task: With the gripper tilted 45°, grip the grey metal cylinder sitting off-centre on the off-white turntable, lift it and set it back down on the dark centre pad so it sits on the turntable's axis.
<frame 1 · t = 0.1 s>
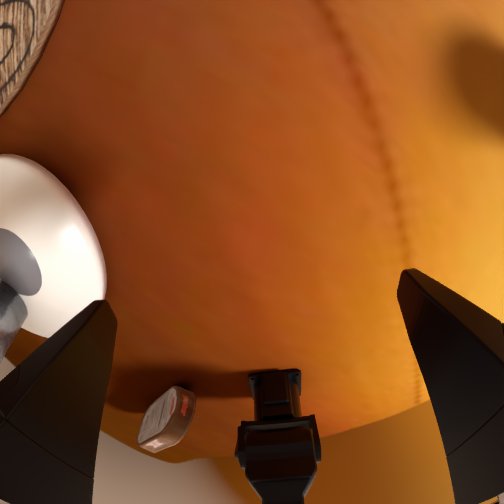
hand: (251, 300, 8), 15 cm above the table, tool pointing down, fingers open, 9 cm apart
turntable: (17, 258, 22), point 2 cm above the table, hinge at 0.0°, touching grey metal cylinder
tin: (166, 396, 38), on the table
grey metal cylinder: (8, 300, 24), point 3 cm above the table, touching turntable
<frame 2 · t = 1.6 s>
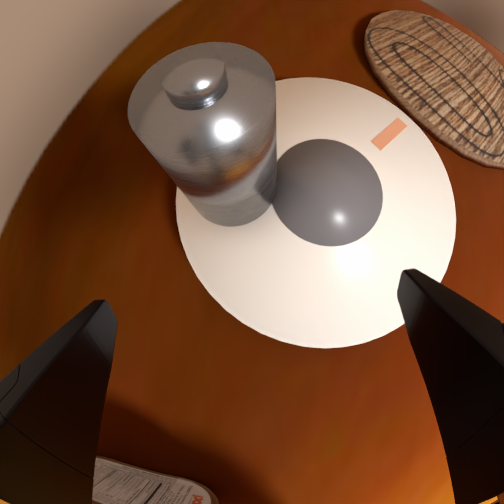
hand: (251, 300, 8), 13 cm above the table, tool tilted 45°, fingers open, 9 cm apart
trivet: (454, 81, 25), on the table
turntable: (325, 193, 20), point 2 cm above the table, hinge at 0.0°, touching grey metal cylinder
tin: (146, 474, 19), on the table
grey metal cylinder: (232, 184, 20), point 3 cm above the table, touching turntable
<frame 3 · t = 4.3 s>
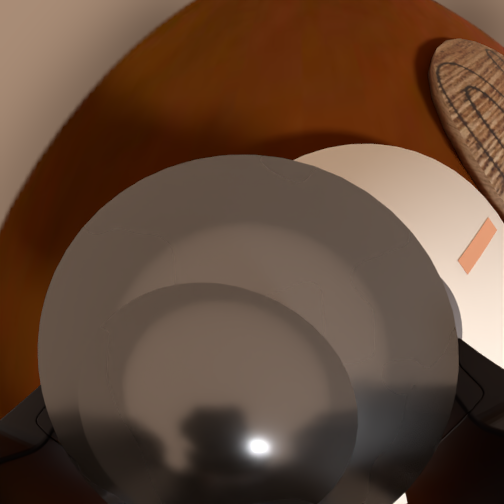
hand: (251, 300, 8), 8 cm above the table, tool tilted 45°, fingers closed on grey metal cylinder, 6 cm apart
turntable: (391, 341, 13), point 2 cm above the table, hinge at 0.0°, touching grey metal cylinder
grey metal cylinder: (263, 336, 13), point 3 cm above the table, touching gripper, turntable
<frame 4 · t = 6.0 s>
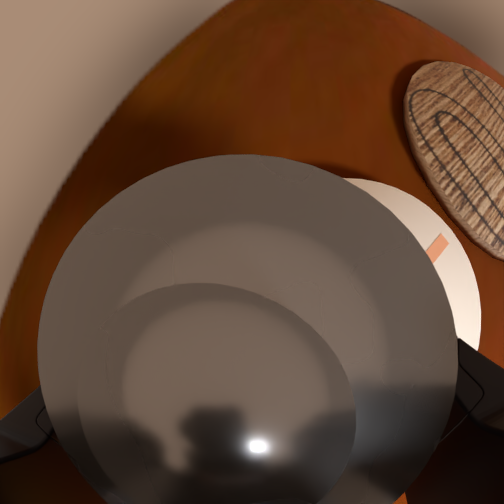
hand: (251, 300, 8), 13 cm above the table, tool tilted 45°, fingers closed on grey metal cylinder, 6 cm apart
trivet: (492, 155, 23), on the table
turntable: (355, 331, 18), point 2 cm above the table, hinge at 0.0°
grey metal cylinder: (263, 335, 13), point 8 cm above the table, touching gripper
when the fingers open (9 cm above the table, at t = 8.0 s): grey metal cylinder drops 1 cm, resting on turntable.
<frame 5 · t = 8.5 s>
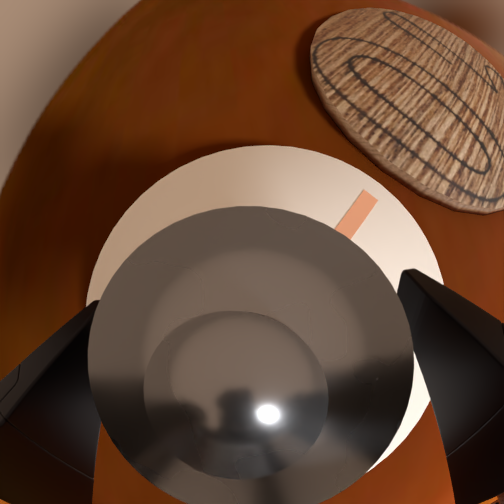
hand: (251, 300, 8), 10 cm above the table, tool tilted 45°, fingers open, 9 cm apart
trivet: (434, 94, 21), on the table
turntable: (264, 332, 15), point 2 cm above the table, hinge at 0.0°, touching grey metal cylinder
grey metal cylinder: (263, 337, 14), point 3 cm above the table, touching turntable
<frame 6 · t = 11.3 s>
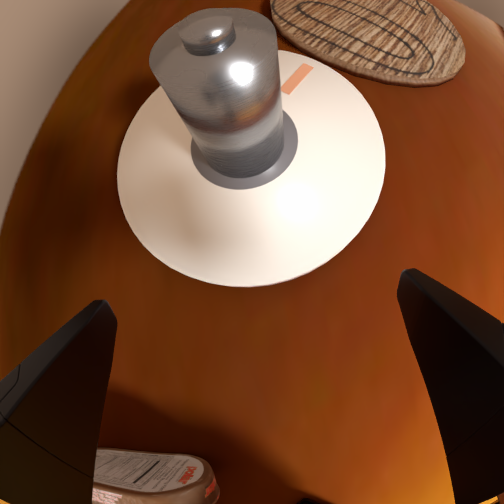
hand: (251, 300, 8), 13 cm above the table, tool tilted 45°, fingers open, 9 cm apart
trivet: (370, 21, 26), on the table
turntable: (245, 146, 22), point 2 cm above the table, hinge at 0.0°, touching grey metal cylinder
tin: (149, 458, 21), on the table
grey metal cylinder: (243, 141, 21), point 3 cm above the table, touching turntable
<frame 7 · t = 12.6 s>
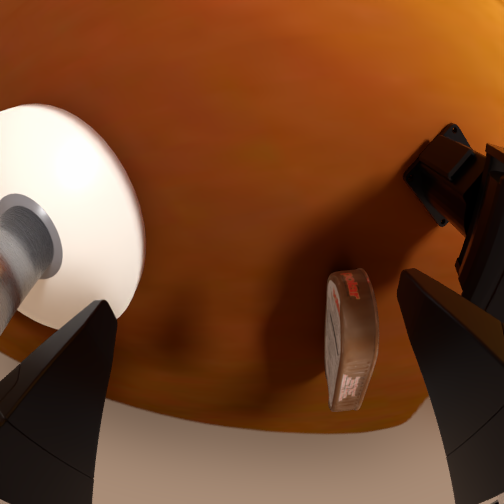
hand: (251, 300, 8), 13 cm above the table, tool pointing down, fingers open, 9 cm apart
turntable: (31, 233, 19), point 2 cm above the table, hinge at 0.0°, touching grey metal cylinder
tin: (334, 313, 27), on the table
grey metal cylinder: (26, 239, 18), point 3 cm above the table, touching turntable
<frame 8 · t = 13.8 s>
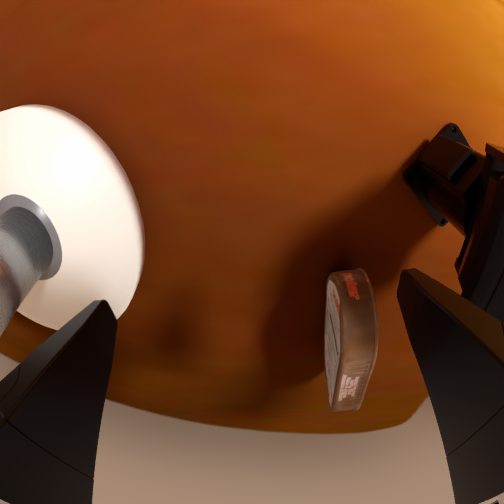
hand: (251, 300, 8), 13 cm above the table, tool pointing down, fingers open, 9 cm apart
turntable: (30, 233, 19), point 2 cm above the table, hinge at 0.0°, touching grey metal cylinder
tin: (334, 313, 27), on the table
grey metal cylinder: (25, 240, 18), point 3 cm above the table, touching turntable
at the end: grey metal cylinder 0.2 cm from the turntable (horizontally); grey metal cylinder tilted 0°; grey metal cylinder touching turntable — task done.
